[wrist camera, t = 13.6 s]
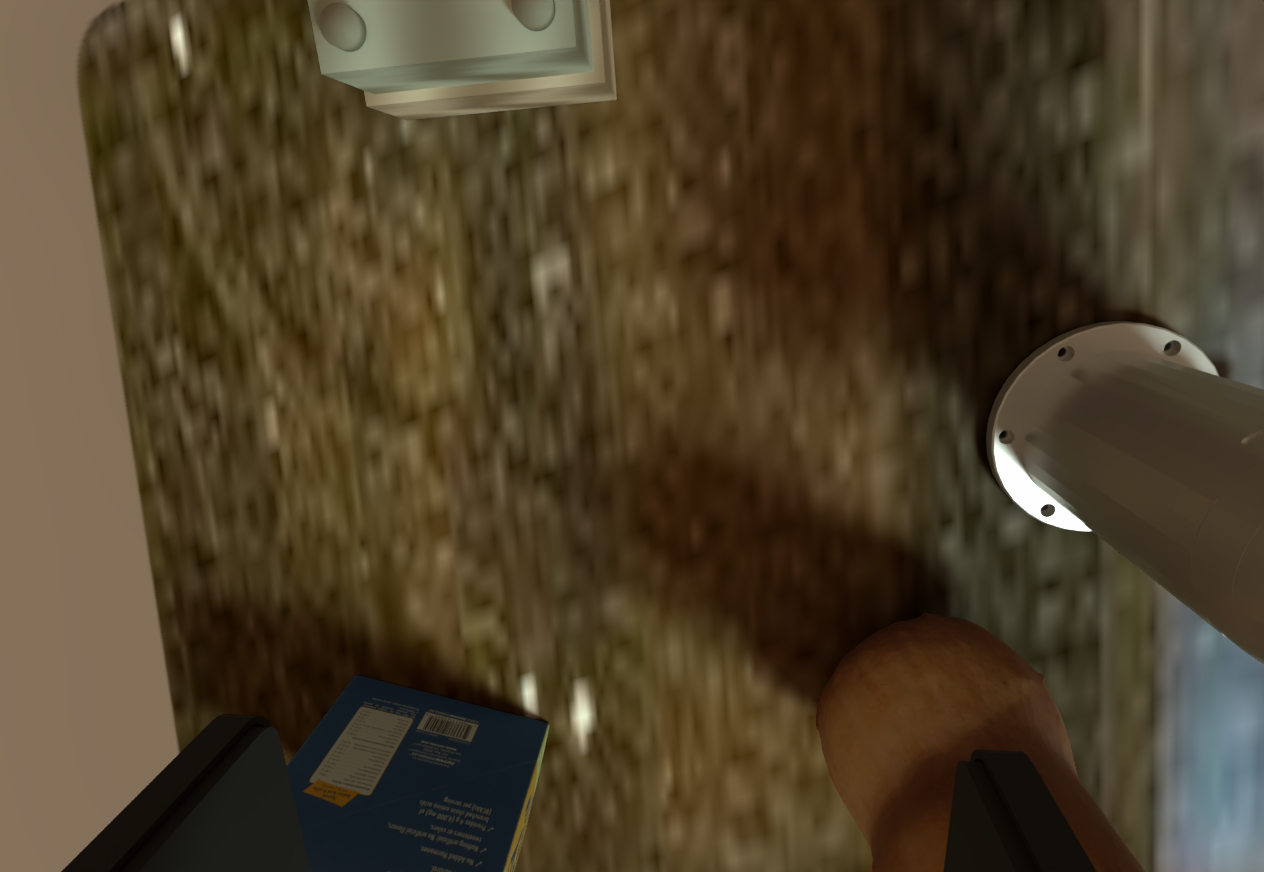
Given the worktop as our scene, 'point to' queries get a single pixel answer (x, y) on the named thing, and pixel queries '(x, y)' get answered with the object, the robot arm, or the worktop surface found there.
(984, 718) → the butternut squash
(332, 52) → the grey studded block
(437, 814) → the protein box
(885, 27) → the worktop surface
